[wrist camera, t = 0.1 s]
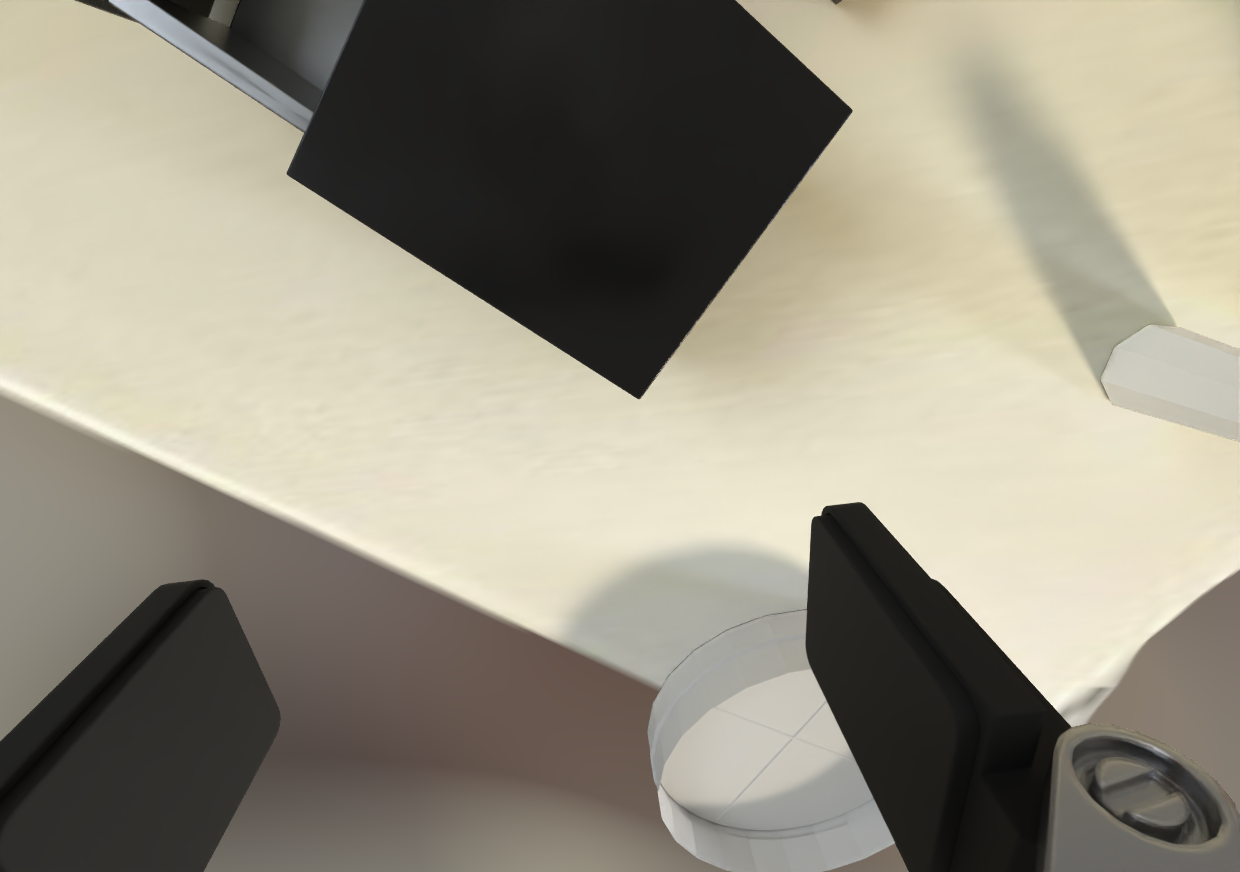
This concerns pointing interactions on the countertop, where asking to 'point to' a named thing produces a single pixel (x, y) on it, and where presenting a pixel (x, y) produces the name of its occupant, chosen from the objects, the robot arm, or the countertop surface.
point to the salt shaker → (1177, 379)
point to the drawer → (255, 44)
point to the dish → (759, 758)
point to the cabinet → (571, 156)
